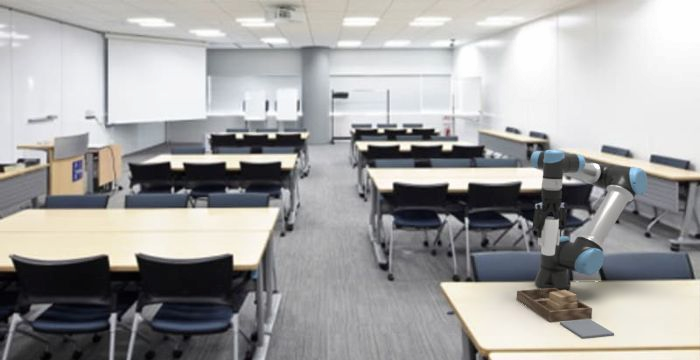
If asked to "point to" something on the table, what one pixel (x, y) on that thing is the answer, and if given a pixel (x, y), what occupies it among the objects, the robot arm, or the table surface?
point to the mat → (586, 328)
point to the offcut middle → (556, 306)
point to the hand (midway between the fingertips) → (548, 244)
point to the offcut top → (562, 297)
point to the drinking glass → (550, 236)
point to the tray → (551, 316)
